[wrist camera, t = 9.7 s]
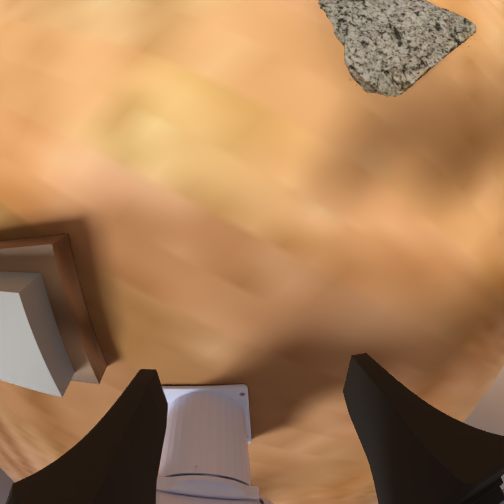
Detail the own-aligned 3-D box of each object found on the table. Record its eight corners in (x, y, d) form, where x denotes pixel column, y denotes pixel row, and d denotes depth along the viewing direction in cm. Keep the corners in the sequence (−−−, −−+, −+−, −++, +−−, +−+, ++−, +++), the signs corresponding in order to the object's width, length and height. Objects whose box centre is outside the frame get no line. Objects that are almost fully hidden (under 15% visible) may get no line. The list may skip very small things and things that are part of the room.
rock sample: (367, -74, 7) (484, -17, 5) (409, -10, 13) (493, 56, 11) (263, 14, 14) (346, 92, 11) (326, 59, 20) (394, 135, 17)
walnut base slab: (109, 361, 23) (99, 384, 20) (17, 350, 22) (4, 367, 19) (72, 230, 19) (51, 244, 16) (-22, 242, 18) (-42, 253, 15)
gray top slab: (75, 372, 19) (62, 397, 17) (3, 356, 19) (-11, 375, 16) (41, 272, 16) (18, 292, 14) (-30, 269, 16) (-51, 285, 13)
